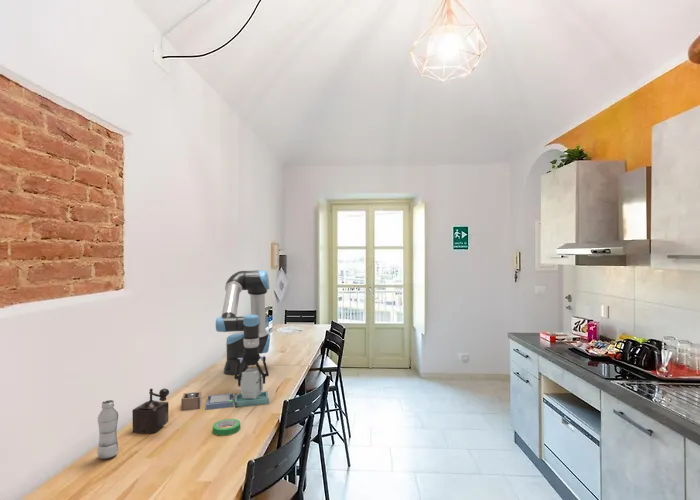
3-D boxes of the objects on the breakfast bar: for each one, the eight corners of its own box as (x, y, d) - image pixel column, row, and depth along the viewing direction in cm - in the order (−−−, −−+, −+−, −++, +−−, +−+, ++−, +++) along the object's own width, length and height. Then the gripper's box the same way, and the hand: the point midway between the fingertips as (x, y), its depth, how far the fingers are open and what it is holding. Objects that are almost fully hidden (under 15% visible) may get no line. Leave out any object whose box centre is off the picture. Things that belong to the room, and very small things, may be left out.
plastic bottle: (103, 452, 147) (102, 399, 147) (122, 451, 147) (121, 398, 147) (93, 462, 140) (93, 405, 140) (113, 460, 141) (112, 404, 141)
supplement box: (255, 398, 192) (255, 372, 192) (241, 398, 193) (241, 372, 193) (261, 393, 199) (261, 368, 199) (248, 392, 200) (247, 367, 200)
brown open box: (183, 405, 192) (183, 393, 192) (201, 404, 194) (201, 391, 194) (181, 412, 184) (181, 399, 184) (199, 410, 186) (199, 397, 186)
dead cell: (188, 405, 190) (188, 392, 190) (196, 404, 191) (196, 392, 191) (187, 408, 187) (187, 395, 187) (195, 407, 187) (195, 394, 188)
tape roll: (218, 424, 171) (218, 418, 171) (243, 424, 171) (243, 418, 171) (208, 436, 160) (208, 429, 160) (235, 436, 160) (235, 429, 160)
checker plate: (211, 398, 195) (211, 396, 195) (230, 396, 198) (230, 394, 198) (209, 405, 187) (209, 402, 187) (229, 402, 189) (229, 400, 189)
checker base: (207, 401, 197) (207, 394, 197) (234, 398, 200) (234, 391, 200) (204, 411, 184) (204, 403, 184) (233, 408, 188) (233, 400, 188)
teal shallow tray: (235, 399, 199) (235, 394, 199) (267, 396, 204) (267, 391, 204) (235, 407, 189) (234, 402, 189) (268, 403, 193) (268, 398, 193)
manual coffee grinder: (130, 433, 163) (130, 389, 163) (146, 422, 174) (146, 381, 174) (165, 434, 161) (165, 390, 161) (180, 423, 172) (180, 381, 172)
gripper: (228, 349, 190) (228, 396, 190) (274, 346, 196) (274, 391, 196) (228, 346, 197) (229, 391, 197) (273, 343, 203) (273, 386, 203)
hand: (251, 391), depth 196 cm, fingers closed on supplement box, 9 cm apart
